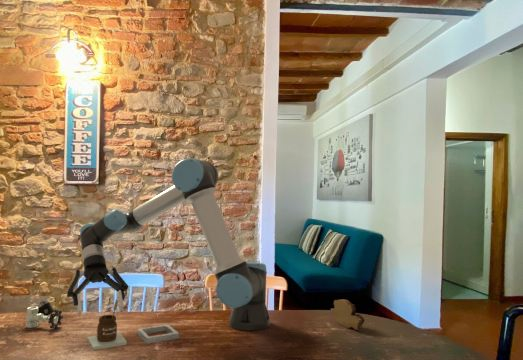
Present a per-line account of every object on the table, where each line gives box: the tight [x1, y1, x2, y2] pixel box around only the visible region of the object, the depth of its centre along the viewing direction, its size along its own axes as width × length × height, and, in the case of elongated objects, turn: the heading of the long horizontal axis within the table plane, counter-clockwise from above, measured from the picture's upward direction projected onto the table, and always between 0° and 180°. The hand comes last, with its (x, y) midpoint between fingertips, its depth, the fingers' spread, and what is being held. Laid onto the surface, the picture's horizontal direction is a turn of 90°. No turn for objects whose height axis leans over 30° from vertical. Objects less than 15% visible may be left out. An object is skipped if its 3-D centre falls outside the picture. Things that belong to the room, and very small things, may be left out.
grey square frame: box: [136, 324, 180, 345], centre depth 143 cm, size 11×11×2 cm
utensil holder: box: [96, 298, 119, 342], centre depth 137 cm, size 6×6×12 cm
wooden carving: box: [330, 298, 365, 331], centre depth 159 cm, size 16×5×10 cm, turn 34°
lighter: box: [38, 300, 55, 316], centre depth 161 cm, size 9×2×6 cm
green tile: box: [87, 331, 128, 351], centre depth 136 cm, size 10×10×1 cm
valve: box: [25, 306, 64, 330], centre depth 150 cm, size 7×7×12 cm
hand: (101, 310), depth 144 cm, fingers open, 13 cm apart
